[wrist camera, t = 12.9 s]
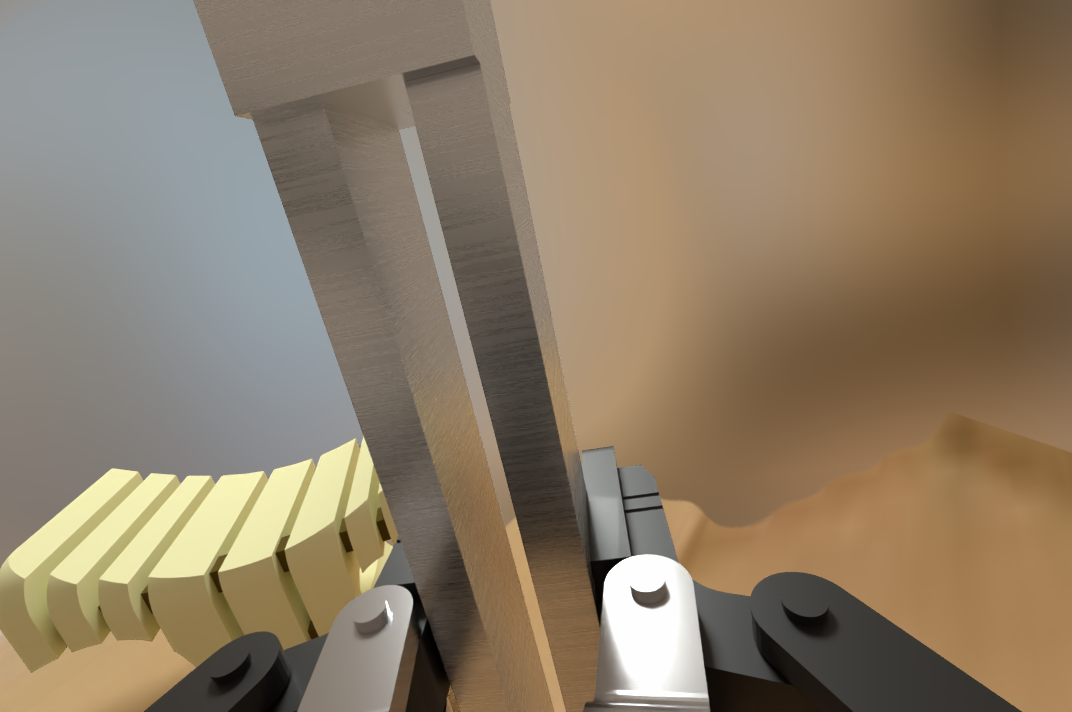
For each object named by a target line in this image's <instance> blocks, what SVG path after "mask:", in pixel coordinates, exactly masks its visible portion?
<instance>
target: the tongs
mask: <svg viewBox="0 0 1072 712" xmlns="http://www.w3.org/2000/svg"><path fill="white" fill-rule="evenodd" d="M193 1H194V3H195V6H196V9H197V12H198V14H199V17H200V20H201V23H202V26H203V28H204V31H205V34H206V37H207V40H208V42H209V45H210V48H211V50H212V54H213V56H214V59H215V62H216V64H217V67H218V70H219V73H220V76H221V79H222V81H223V84H224V87H225V89H226V92H227V95H228V98H229V101H230V103H231V106H232V109H233V112H234V115H235V116H237V117H242V118H247V119H252V120H253V121H254V124H255V127H256V130H257V133H258V135H259V138H260V141H261V144H262V147H263V150H264V152H265V156H266V158H267V161H268V164H269V167H270V170H271V173H272V175H273V178H274V181H275V184H276V187H277V190H278V193H279V195H280V198H281V201H282V204H283V207H284V210H285V213H286V216H287V218H288V221H289V224H290V227H291V230H292V233H293V236H294V238H295V241H296V244H297V247H298V250H299V253H300V255H301V258H302V261H303V264H304V267H305V269H306V273H307V276H308V278H309V281H310V284H311V287H312V290H313V293H314V296H315V298H316V301H317V304H318V307H319V309H320V313H321V315H322V318H323V321H324V324H325V327H326V330H327V332H328V336H329V338H330V341H331V344H332V347H333V350H334V353H335V356H336V358H337V361H338V364H339V367H340V370H341V372H342V375H343V378H344V381H345V384H346V387H347V390H348V393H349V396H350V398H351V401H352V404H353V407H354V410H355V413H356V416H357V418H358V421H359V424H360V427H361V430H362V433H363V435H364V438H365V441H366V444H367V447H368V450H369V453H370V456H371V458H372V461H373V464H374V467H375V470H376V473H377V476H378V478H379V481H380V484H381V487H382V490H383V493H384V496H385V498H386V501H387V504H388V507H389V510H390V513H391V516H392V518H393V521H394V524H395V527H396V530H397V533H398V536H399V538H400V541H401V544H402V547H403V550H404V553H405V556H406V558H407V561H408V564H409V567H410V570H411V573H412V576H413V578H414V581H415V584H416V587H417V590H418V593H419V596H420V598H421V601H422V604H423V607H424V610H425V613H426V616H427V618H428V621H429V624H430V627H431V630H432V633H433V636H434V638H435V641H436V644H437V647H438V650H439V653H440V656H441V658H442V661H443V664H444V667H445V670H446V673H447V676H448V678H449V681H450V684H451V687H452V690H453V693H454V696H455V698H456V701H457V704H458V707H459V710H460V712H554V709H553V705H552V701H551V697H550V694H549V690H548V686H547V682H546V679H545V675H544V671H543V667H542V664H541V660H540V656H539V652H538V649H537V645H536V641H535V637H534V634H533V630H532V626H531V623H530V619H529V615H528V611H527V608H526V604H525V600H524V596H523V593H522V589H521V585H520V581H519V578H518V574H517V570H516V566H515V563H514V559H513V555H512V551H511V548H510V544H509V540H508V536H507V533H506V529H505V525H504V522H503V518H502V514H501V510H500V507H499V503H498V499H497V495H496V492H495V488H494V484H493V480H492V477H491V473H490V469H489V465H488V462H487V458H486V454H485V450H484V447H483V443H482V439H481V436H480V432H479V428H478V424H477V421H476V417H475V413H474V409H473V406H472V402H471V398H470V394H469V391H468V387H467V383H466V379H465V376H464V372H463V368H462V364H461V361H460V357H459V354H458V350H457V346H456V342H455V338H454V335H453V331H452V327H451V324H450V320H449V316H448V312H447V308H446V305H445V301H444V297H443V294H442V290H441V286H440V282H439V278H438V275H437V271H436V268H435V263H434V260H433V256H432V252H431V249H430V245H429V241H428V237H427V234H426V230H425V226H424V223H423V219H422V215H421V211H420V207H419V204H418V200H417V196H416V192H415V189H414V185H413V181H412V177H411V174H410V170H409V166H408V163H407V159H406V155H405V152H404V148H403V144H402V140H401V137H400V133H399V130H400V129H405V128H409V127H413V126H416V129H417V133H418V137H419V141H420V145H421V149H422V153H423V156H424V160H425V164H426V168H427V172H428V176H429V180H430V184H431V187H432V192H433V195H434V200H435V203H436V207H437V211H438V215H439V219H440V223H441V227H442V231H443V235H444V238H445V242H446V246H447V250H448V254H449V258H450V261H451V266H452V269H453V273H454V277H455V281H456V285H457V289H458V293H459V297H460V300H461V305H462V308H463V312H464V316H465V320H466V324H467V328H468V332H469V336H470V340H471V343H472V347H473V351H474V355H475V358H476V363H477V367H478V371H479V375H480V378H481V382H482V386H483V390H484V394H485V398H486V402H487V406H488V409H489V413H490V417H491V421H492V425H493V429H494V433H495V437H496V440H497V445H498V448H499V452H500V456H501V460H502V463H503V468H504V472H505V476H506V479H507V483H508V487H509V491H510V495H511V499H512V503H513V506H514V511H515V514H516V518H517V522H518V526H519V530H520V534H521V538H522V542H523V546H524V550H525V554H526V557H527V561H528V565H529V569H530V573H531V577H532V581H533V585H534V589H535V592H536V596H537V600H538V604H539V608H540V612H541V616H542V620H543V624H544V627H545V631H546V635H547V639H548V643H549V647H550V651H551V655H552V659H553V662H554V666H555V670H556V674H557V678H558V682H559V686H560V690H561V694H562V697H563V701H564V705H565V709H566V712H583V708H584V706H585V703H586V702H587V701H592V702H593V700H594V696H595V686H596V674H597V662H598V650H599V638H600V626H601V611H600V606H599V601H598V597H597V592H596V587H595V582H594V577H593V573H592V568H591V563H590V549H589V530H588V510H587V491H586V486H585V481H584V476H583V471H582V466H581V461H580V456H579V451H578V446H577V441H576V436H575V431H574V426H573V421H572V416H571V411H570V406H569V401H568V396H567V391H566V386H565V381H564V376H563V371H562V366H561V361H560V356H559V351H558V346H557V342H556V336H555V331H554V326H553V321H552V316H551V311H550V306H549V301H548V296H547V291H546V286H545V282H544V276H543V271H542V266H541V261H540V256H539V251H538V246H537V241H536V236H535V231H534V226H533V221H532V216H531V212H530V207H529V202H528V196H527V191H526V186H525V181H524V176H523V171H522V166H521V162H520V156H519V151H518V147H517V141H516V136H515V131H514V126H513V122H512V117H511V112H510V106H509V103H510V98H509V93H508V88H507V83H506V78H505V73H504V68H503V63H502V58H501V53H500V48H499V43H498V38H497V33H496V28H495V23H494V18H493V13H492V8H491V3H490V0H193Z"/></svg>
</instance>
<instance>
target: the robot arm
mask: <svg viewBox="0 0 1072 712" xmlns="http://www.w3.org/2000/svg"><path fill="white" fill-rule="evenodd" d="M582 470H583V476H584V481H585V486H586V491H587V510H588V530H589V549H590V563H591V568H592V573H593V577H594V582H595V587H596V592H597V597H598V601H599V606H600V611H601V626H600V638H599V650H598V662H597V674H596V686H595V696H594V700H593V702H592V701H587V702H586V703H585V706H584V708H583V712H1022V711H1020V710H1019V709H1017V708H1016V707H1014V706H1013V705H1011V704H1010V703H1008V702H1007V701H1006V700H1004V699H1003V698H1001V697H1000V696H998V695H997V694H995V693H994V692H992V691H991V690H990V689H988V688H987V687H985V686H984V685H982V684H981V683H979V682H978V681H976V680H975V679H974V678H972V677H971V676H969V675H968V674H966V673H965V672H963V671H962V670H960V669H959V668H957V667H956V666H955V665H953V664H952V663H950V662H949V661H947V660H946V659H944V658H943V657H941V656H940V655H939V654H937V653H936V652H934V651H933V650H931V649H930V648H928V647H927V646H925V645H924V644H922V643H921V642H920V641H918V640H917V639H915V638H914V637H912V636H911V635H909V634H908V633H906V632H905V631H904V630H902V629H901V628H899V627H898V626H896V625H895V624H893V623H892V622H890V621H889V620H887V619H886V618H885V617H883V616H882V615H880V614H879V613H877V612H876V611H874V610H873V609H871V608H870V607H869V606H867V605H866V604H864V603H863V602H861V601H860V600H858V599H857V598H855V597H854V596H852V595H851V594H850V593H848V592H847V591H845V590H844V589H842V588H841V587H839V586H838V585H836V584H834V583H833V582H831V581H828V580H826V579H824V578H821V577H818V576H815V575H811V574H807V573H800V572H784V573H778V574H774V575H771V576H769V577H766V578H764V579H763V580H762V581H760V582H759V583H758V584H757V585H756V586H755V588H754V589H753V591H752V594H751V597H750V596H743V595H737V594H730V593H724V592H720V591H716V590H713V589H710V588H707V587H705V586H703V585H701V584H699V583H697V582H696V581H694V580H693V579H692V578H691V576H690V574H689V573H688V572H687V570H686V569H685V568H684V567H683V566H682V565H680V564H679V562H678V559H677V556H676V552H675V548H674V545H673V541H672V538H671V534H670V531H669V527H668V524H667V520H666V517H665V513H664V510H663V507H662V503H661V499H660V496H659V492H658V489H657V485H656V482H655V478H654V476H653V475H652V474H651V473H649V472H648V471H647V470H646V469H645V468H644V467H643V466H642V465H635V466H628V467H621V468H617V464H616V459H615V453H614V447H613V446H610V447H604V448H597V449H590V450H583V451H582ZM449 687H450V681H449V678H448V676H447V673H446V670H445V667H444V664H443V661H442V658H441V656H440V653H439V650H438V647H437V644H436V641H435V638H434V636H433V633H432V630H431V627H430V624H429V621H428V618H427V616H426V613H425V610H424V607H423V604H422V601H421V598H420V596H419V593H418V590H417V587H416V584H415V581H414V578H413V576H412V573H411V570H410V567H409V564H408V561H407V558H406V556H405V553H404V550H403V547H402V544H401V541H400V538H399V536H398V538H397V543H395V544H394V546H393V548H392V550H391V553H390V555H389V557H388V559H387V561H386V563H385V565H384V567H383V569H382V571H381V573H380V575H379V577H378V579H377V581H376V583H375V585H374V587H373V589H371V590H368V591H366V592H364V593H362V594H361V595H359V596H358V597H356V598H355V599H353V600H352V601H351V602H349V603H348V604H347V605H346V606H345V607H344V608H343V609H342V610H341V612H340V613H339V614H338V615H337V617H336V618H335V620H334V622H333V624H332V627H331V629H330V631H329V633H327V634H325V635H322V636H320V637H317V638H315V639H312V640H309V641H307V642H304V643H301V644H299V645H296V646H293V647H291V648H288V649H285V650H283V647H282V645H281V643H280V641H279V639H278V638H277V636H276V635H274V634H273V633H270V632H265V631H261V632H254V633H250V634H247V635H244V636H241V637H239V638H237V639H235V640H233V641H231V642H230V643H228V644H226V645H225V646H223V647H222V648H220V649H219V650H217V651H216V652H215V653H214V654H212V655H211V656H210V657H209V658H207V659H206V660H205V661H204V662H203V663H201V664H200V665H199V666H198V667H197V668H195V669H194V670H193V671H192V672H191V673H189V674H188V675H187V676H186V677H185V678H183V679H182V680H181V681H180V682H179V683H178V684H176V685H175V686H174V687H173V688H172V689H170V690H169V691H168V692H167V693H166V694H164V695H163V696H162V697H161V698H160V699H158V700H157V701H156V702H155V703H154V704H152V705H151V706H150V707H149V708H148V709H146V710H145V711H144V712H453V710H452V707H451V705H450V702H449V699H448V696H447V695H448V691H449Z"/></svg>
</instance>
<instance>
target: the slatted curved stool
mask: <svg viewBox="0 0 1072 712" xmlns="http://www.w3.org/2000/svg"><path fill="white" fill-rule="evenodd" d="M314 470H315V465H314V462H313V460H312V459H310V460H307V461H303V462H301V463H297V464H294V465H290V466H286V467H282V468H278V469H274V471H273V473H272V474H271V476H270V478H269V480H268V479H267V476H266V474H265V472H264V471H262V472H255V473H248V474H238V475H226V476H225V475H224V476H221V478H220V479H219V481H218V482H217V483H216V485H215V483H214V481H213V479H212V477H211V476H187V477H186V479H185V480H184V481H183V482H182V483H181V484H180V482H179V480H178V478H177V476H176V475H165V474H152V473H151V474H150V475H149V476H148V477H147V478H146V479H145V480H144V481H143V480H142V478H141V476H140V474H139V472H135V471H127V470H121V469H113V468H112V469H111V470H110V471H108V472H107V473H106V474H105V475H104V476H102V477H101V478H100V479H99V480H98V481H96V482H95V483H94V484H93V485H92V486H91V487H89V488H88V489H87V490H86V491H85V492H83V493H82V494H81V495H80V496H79V497H78V498H76V499H75V500H74V501H73V502H72V503H70V504H69V505H68V506H67V507H66V508H64V509H63V510H62V511H61V512H60V513H59V514H57V515H56V516H55V517H54V518H53V519H52V520H50V521H49V522H48V523H47V524H46V525H44V526H43V527H42V528H41V529H40V530H39V531H37V532H36V533H35V534H34V535H33V536H31V537H30V538H29V539H28V540H27V541H26V542H24V543H23V544H22V545H21V546H20V547H18V548H17V549H16V550H15V551H14V552H13V553H12V554H11V555H10V556H9V557H8V558H7V559H6V561H5V562H4V564H3V565H2V567H1V569H0V629H1V631H2V632H3V634H4V635H5V637H6V638H7V639H8V641H9V642H10V644H11V645H12V646H13V648H14V649H15V651H16V652H17V653H18V655H19V656H20V658H21V659H22V660H23V662H24V663H25V665H26V666H27V667H28V669H29V670H30V672H31V673H32V672H34V671H35V670H37V669H39V668H41V667H42V666H44V665H46V664H48V663H50V662H52V661H54V660H56V659H58V658H59V657H60V655H61V654H62V653H63V652H64V650H65V649H66V648H67V647H69V649H70V650H71V652H75V651H77V650H80V649H83V648H86V647H89V646H93V645H97V644H101V643H102V642H103V641H104V639H105V638H106V637H107V635H108V634H109V632H110V631H112V633H113V634H114V636H115V638H116V639H117V641H118V640H145V641H151V642H152V641H153V639H154V637H155V636H156V634H157V633H158V631H159V629H160V628H161V629H162V631H163V633H164V635H165V636H166V638H167V640H168V642H169V643H170V645H171V647H172V648H173V650H174V651H175V652H177V653H178V654H180V655H181V656H183V657H184V658H185V659H187V660H188V661H189V662H190V663H192V664H193V665H194V666H195V667H198V666H199V665H200V664H201V663H203V662H204V661H205V660H206V659H207V658H209V657H210V656H211V655H212V654H214V653H215V652H216V651H217V650H219V649H220V648H222V647H223V646H225V645H226V644H228V643H230V642H231V641H233V640H235V639H237V638H239V637H241V636H244V635H247V634H250V633H254V632H261V631H265V632H270V633H273V634H274V635H276V636H277V638H278V639H279V641H280V643H281V645H282V647H283V650H285V649H288V648H291V647H293V646H296V645H299V644H301V643H304V642H307V641H309V640H312V639H315V638H317V637H320V636H322V635H325V634H327V633H329V631H330V629H331V627H332V624H333V622H334V620H335V618H336V617H337V615H338V614H339V613H340V612H341V610H342V609H343V608H344V607H345V606H346V605H347V604H348V603H349V602H351V601H352V600H353V599H355V598H356V597H358V596H359V595H361V594H362V593H364V592H366V591H368V590H371V589H373V587H374V585H375V583H376V581H377V579H378V577H379V575H380V573H381V571H382V569H383V567H384V565H385V563H386V561H387V559H388V557H389V555H390V553H391V550H392V548H393V547H392V546H390V545H389V544H388V543H386V542H385V541H386V540H389V539H391V540H392V542H393V545H394V544H395V543H397V538H398V533H397V530H396V527H395V524H394V521H393V518H392V516H391V513H390V510H389V507H388V504H387V501H386V498H385V496H384V493H383V490H382V487H381V484H380V481H379V478H378V476H377V473H376V470H375V467H374V464H373V461H372V458H371V456H370V453H369V450H368V447H367V444H366V441H365V438H364V436H363V440H362V444H361V449H359V446H358V443H357V441H356V439H354V440H352V441H350V442H348V443H346V444H344V445H343V446H340V447H338V448H336V449H334V450H332V451H330V452H327V453H325V454H323V455H321V457H320V460H319V462H318V465H317V467H316V470H315V473H314ZM313 473H314V475H313ZM312 476H313V478H312ZM311 479H312V480H311ZM310 482H311V483H310ZM309 485H310V486H309Z"/></svg>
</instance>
